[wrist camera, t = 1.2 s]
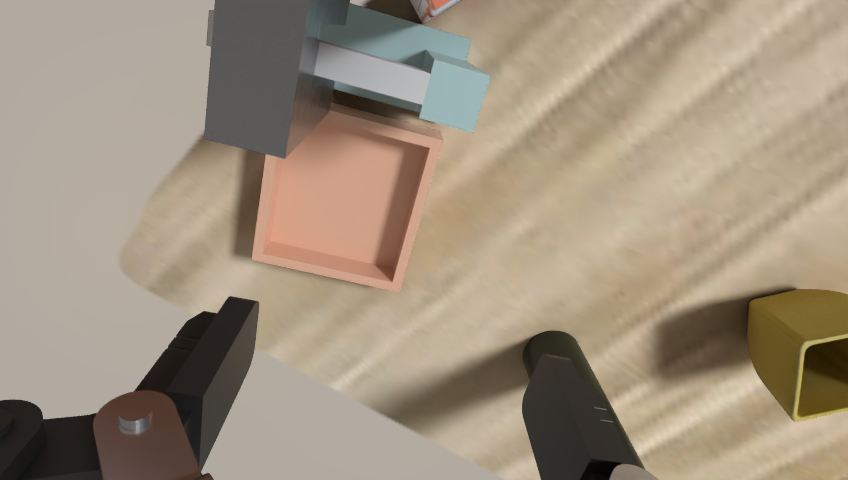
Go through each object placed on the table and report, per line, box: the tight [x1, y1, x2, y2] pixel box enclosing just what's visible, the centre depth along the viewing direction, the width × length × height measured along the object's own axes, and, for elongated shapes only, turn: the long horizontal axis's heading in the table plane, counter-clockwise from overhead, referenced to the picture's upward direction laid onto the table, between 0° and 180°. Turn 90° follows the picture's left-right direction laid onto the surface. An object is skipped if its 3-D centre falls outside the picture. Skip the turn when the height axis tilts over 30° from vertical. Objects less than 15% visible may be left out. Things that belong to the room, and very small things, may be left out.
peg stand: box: [207, 3, 491, 133], centre depth 29 cm, size 6×14×13 cm, turn 75°
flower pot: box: [747, 289, 848, 421], centre depth 42 cm, size 9×9×9 cm
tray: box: [252, 102, 443, 292], centre depth 38 cm, size 14×13×3 cm
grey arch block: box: [204, 0, 350, 159], centre depth 25 cm, size 8×4×13 cm, turn 165°
